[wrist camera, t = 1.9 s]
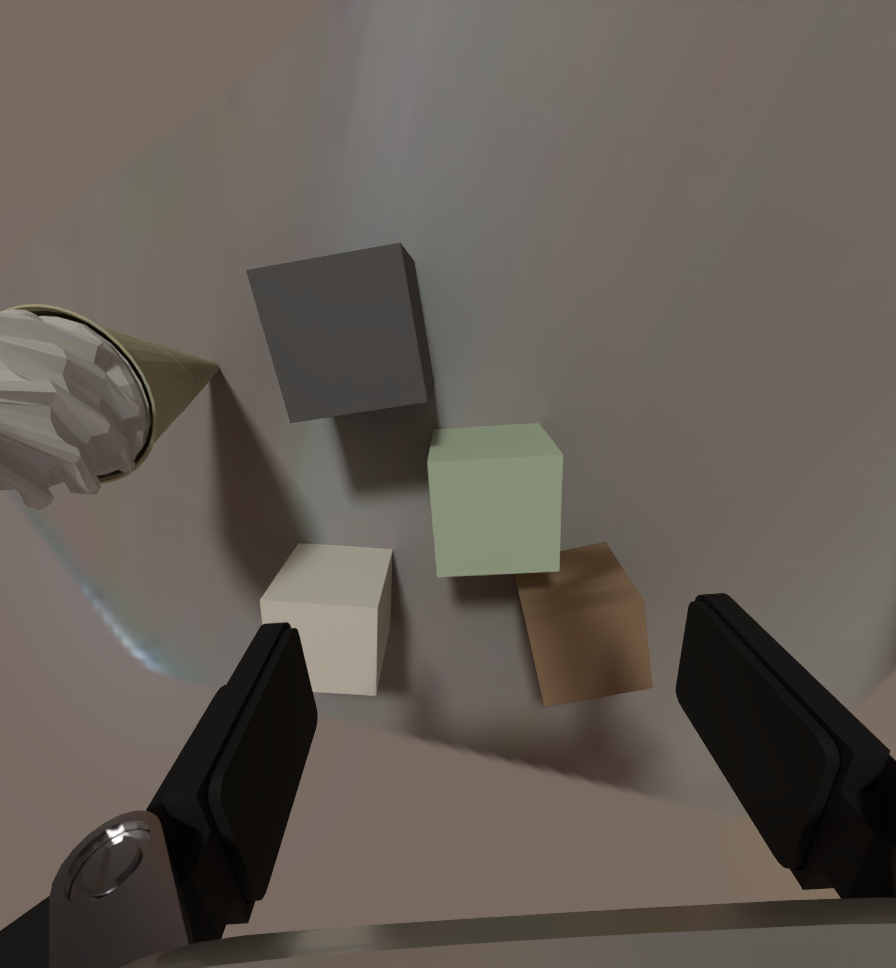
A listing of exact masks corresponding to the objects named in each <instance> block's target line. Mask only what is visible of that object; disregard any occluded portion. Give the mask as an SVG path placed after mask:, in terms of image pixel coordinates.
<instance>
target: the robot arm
mask: <svg viewBox="0 0 896 968" xmlns="http://www.w3.org/2000/svg"><path fill="white" fill-rule="evenodd" d="M676 695H677V698H678V701H679V703H680V705H681V707H682V709H683V710H684V712H685V713H686V715H687V717H688V718H689V720H690V721H691V723H692V725H693V726H694V728H695V729H696V731H697V733H698V734H699V736H700V738H701V739H702V741H703V742H704V744H705V746H706V747H707V749H708V750H709V752H710V754H711V755H712V757H713V758H714V760H715V762H716V763H717V765H718V767H719V768H720V770H721V771H722V773H723V775H724V776H725V778H726V779H727V781H728V783H729V784H730V786H731V787H732V789H733V791H734V792H735V794H736V796H737V797H738V799H739V800H740V802H741V804H742V805H743V807H744V808H745V810H746V812H747V813H748V815H749V816H750V818H751V820H752V821H753V823H754V825H755V826H756V828H757V829H758V831H759V833H760V834H761V836H762V837H763V839H764V841H765V842H766V844H767V845H768V847H769V849H770V850H771V852H772V854H773V855H774V856H775V858H776V859H777V861H778V862H779V863H780V864H781V865H782V866H783V867H785V868H790V870H791V871H792V873H793V875H794V876H795V878H796V879H797V881H798V882H799V884H800V886H801V887H802V889H803V890H809V889H826V888H834V889H835V890H836V892H837V893H838V895H839V896H840V898H841V899H819V900H789V901H768V902H750V903H733V904H732V903H731V904H713V905H694V906H676V907H657V908H640V909H639V908H638V909H621V910H606V911H588V912H571V913H556V914H555V913H554V914H538V915H522V916H506V917H505V916H504V917H488V918H472V919H458V920H442V921H426V922H411V923H398V924H397V923H396V924H381V925H367V926H351V927H336V928H324V929H312V930H301V931H290V932H279V933H267V934H256V935H244V936H238V937H231V938H225V939H221V938H222V935H223V932H224V929H225V926H226V924H242V923H248V922H249V919H250V915H251V913H252V909H253V906H254V903H255V901H258V900H261V899H262V898H263V897H264V895H265V893H266V891H267V888H268V884H269V881H270V878H271V875H272V871H273V868H274V865H275V861H276V858H277V855H278V852H279V848H280V845H281V841H282V838H283V835H284V832H285V828H286V825H287V822H288V819H289V815H290V812H291V809H292V806H293V802H294V799H295V796H296V792H297V789H298V786H299V783H300V779H301V776H302V773H303V769H304V766H305V763H306V760H307V756H308V753H309V750H310V746H311V743H312V740H313V736H314V733H315V730H316V726H317V717H318V716H317V708H316V704H315V699H314V695H313V691H312V687H311V682H310V678H309V674H308V670H307V665H306V661H305V657H304V653H303V648H302V644H301V640H300V635H299V632H298V629H297V628H291V625H290V624H289V623H288V622H281V623H266V624H263V625H262V626H261V627H260V628H259V630H258V632H257V633H256V635H255V637H254V638H253V640H252V642H251V644H250V645H249V647H248V649H247V650H246V652H245V654H244V656H243V657H242V659H241V661H240V662H239V664H238V666H237V667H236V669H235V671H234V673H233V674H232V676H231V678H230V679H229V681H228V683H227V685H224V686H223V687H221V688H220V689H219V690H218V692H217V693H216V694H215V696H214V698H213V699H212V701H211V703H210V704H209V706H208V708H207V709H206V711H205V713H204V714H203V716H202V718H201V719H200V721H199V723H198V724H197V726H196V728H195V729H194V731H193V733H192V734H191V736H190V738H189V739H188V741H187V743H186V744H185V746H184V748H183V749H182V751H181V753H180V754H179V756H178V758H177V759H176V761H175V763H174V764H173V766H172V768H171V770H170V771H169V773H168V774H167V776H166V778H165V779H164V781H163V783H162V784H161V786H160V788H159V789H158V791H157V793H156V795H155V796H154V798H153V799H152V801H151V803H150V804H149V806H148V808H147V810H146V811H132V812H129V813H125V814H121V815H119V816H117V817H115V818H113V819H111V820H109V821H107V822H105V823H104V824H102V825H101V826H99V827H98V828H97V829H96V830H94V831H92V832H91V833H90V834H88V835H87V836H86V837H85V838H84V839H83V840H82V841H81V842H80V843H79V844H78V845H77V846H76V847H75V848H74V849H73V850H72V852H71V853H70V854H69V856H68V857H67V858H66V860H65V861H64V862H63V864H62V865H61V867H60V869H59V870H58V873H57V874H56V876H55V879H54V881H53V883H52V888H51V892H50V896H49V897H47V898H46V899H44V900H43V901H42V902H40V903H39V904H37V905H36V906H35V907H33V908H32V909H30V910H29V911H28V912H26V913H25V914H23V915H22V916H21V917H19V918H18V919H16V920H15V921H14V922H12V923H11V924H9V925H8V926H7V927H5V928H4V929H2V930H1V931H0V968H896V761H895V760H894V759H893V758H892V757H891V756H890V755H889V753H890V750H889V749H888V748H887V747H886V746H885V745H884V744H883V743H882V742H881V741H880V740H878V738H877V737H875V736H874V735H873V734H872V733H871V732H870V731H869V730H868V729H867V728H866V727H865V726H864V725H863V724H862V723H861V722H860V721H859V720H858V719H857V718H856V717H855V716H854V715H853V714H852V713H850V712H849V711H848V710H847V709H846V708H845V707H844V706H843V705H842V704H841V703H840V702H839V701H838V700H837V699H836V698H835V697H834V696H833V695H832V694H831V693H830V692H829V691H828V690H827V689H826V688H824V687H823V686H822V685H821V684H820V683H819V682H818V681H817V680H816V679H815V678H814V677H813V676H812V675H811V674H810V673H809V672H808V671H807V670H806V669H805V668H804V667H803V666H802V665H801V664H799V663H798V662H797V661H796V660H795V659H794V658H793V657H792V656H791V655H790V654H789V653H788V652H787V651H786V650H785V649H784V648H783V647H782V646H781V645H780V644H779V643H778V642H777V641H776V640H775V639H773V638H772V637H771V636H770V635H769V634H768V633H767V632H766V631H765V630H764V629H763V628H762V627H761V626H760V625H759V624H758V623H757V622H756V621H755V620H754V619H753V618H752V617H751V616H750V615H748V614H747V613H746V612H745V611H744V610H743V609H742V608H741V607H740V606H739V605H738V604H737V603H736V602H735V601H734V600H733V599H732V598H731V597H730V596H728V595H727V594H724V593H719V594H704V595H698V596H697V597H696V599H695V601H694V602H691V603H690V604H689V607H688V613H687V619H686V626H685V632H684V638H683V645H682V651H681V657H680V664H679V670H678V677H677V683H676Z"/></svg>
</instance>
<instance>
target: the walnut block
mask: <svg viewBox="0 0 896 968" xmlns="http://www.w3.org/2000/svg"><path fill="white" fill-rule="evenodd" d="M514 575H515V580H516V584H517V589H518V593H519V598H520V602H521V606H522V611H523V615H524V620H525V624H526V629H527V633H528V638H529V642H530V646H531V651H532V655H533V659H534V664H535V668H536V672H537V677H538V681H539V685H540V690H541V694H542V698H543V703H544V706H549V705H555V704H561V703H567V702H573V701H579V700H585V699H591V698H597V697H603V696H608V695H614V694H620V693H626V692H632V691H638V690H644V689H650V688H652V679H651V669H650V659H649V649H648V639H647V629H646V619H645V609H644V600H643V598H642V597H641V595H640V594H639V592H638V591H637V589H636V588H635V586H634V585H633V583H632V582H631V580H630V579H629V577H628V576H627V574H626V573H625V571H624V570H623V568H622V567H621V565H620V564H619V562H618V561H617V559H616V557H615V556H614V554H613V553H612V551H611V550H610V548H609V547H608V545H607V544H606V542H604V543H599V544H594V545H589V546H584V547H579V548H574V549H569V550H565V551H560V566H559V571H558V572H537V573H516V574H514Z"/></svg>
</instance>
